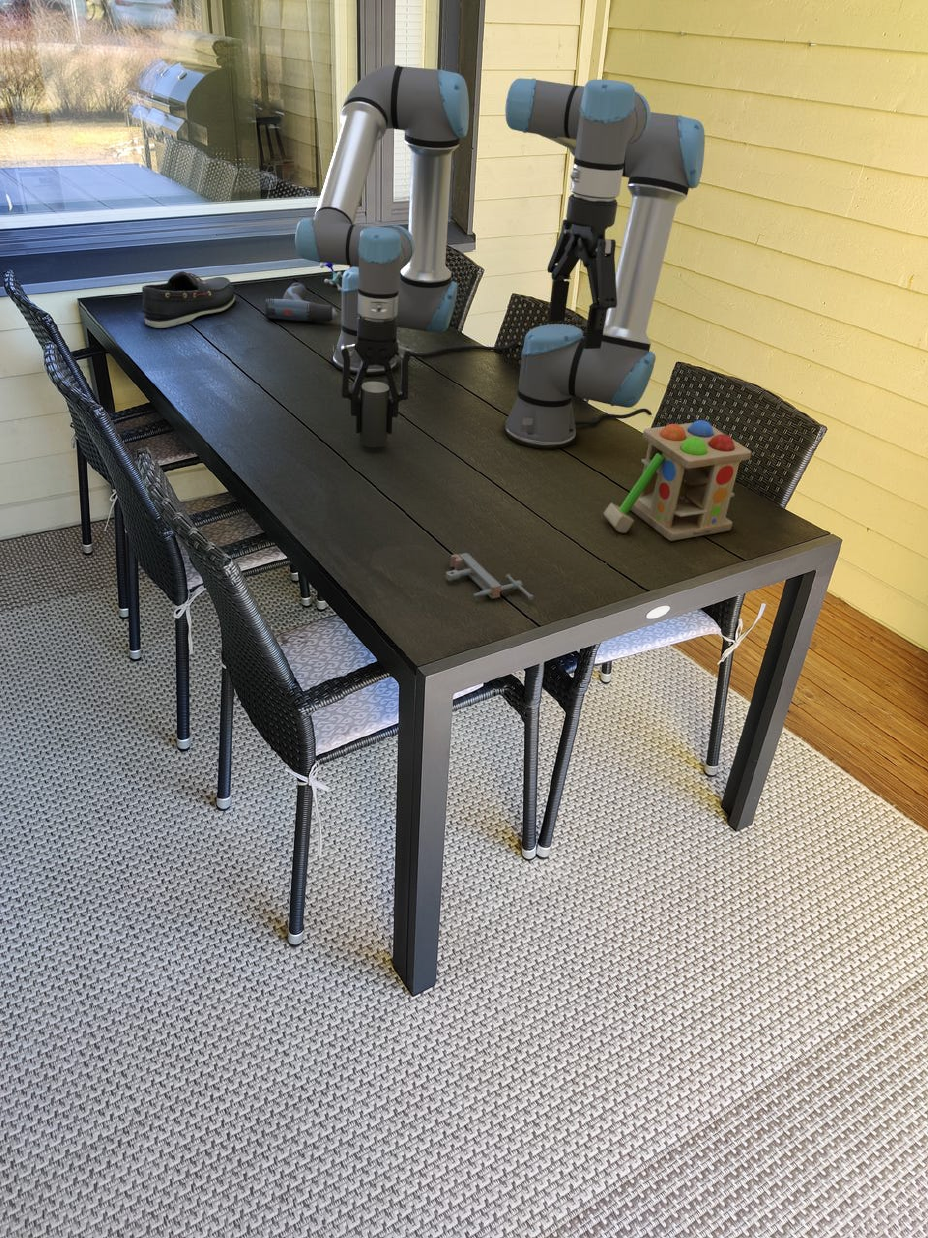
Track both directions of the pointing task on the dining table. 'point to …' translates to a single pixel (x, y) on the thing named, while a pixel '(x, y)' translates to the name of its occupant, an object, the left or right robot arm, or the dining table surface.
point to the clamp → (480, 576)
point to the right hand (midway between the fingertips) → (573, 333)
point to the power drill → (298, 307)
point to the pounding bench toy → (683, 482)
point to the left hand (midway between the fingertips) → (373, 430)
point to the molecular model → (335, 275)
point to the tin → (374, 414)
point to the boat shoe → (185, 299)
